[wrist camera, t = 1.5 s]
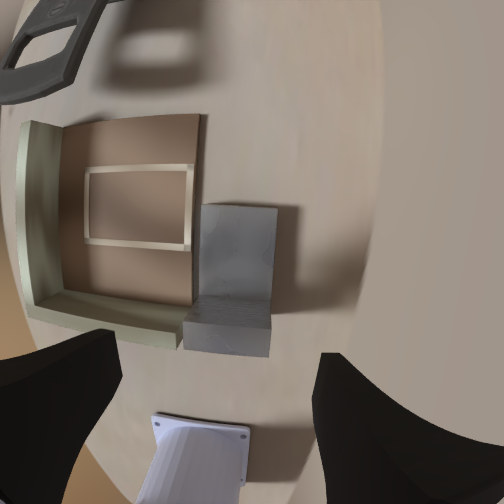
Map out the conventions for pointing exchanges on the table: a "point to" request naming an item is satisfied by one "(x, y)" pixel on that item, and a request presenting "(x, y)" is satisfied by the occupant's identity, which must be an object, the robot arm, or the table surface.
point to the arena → (109, 225)
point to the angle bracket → (233, 281)
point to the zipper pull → (58, 66)
